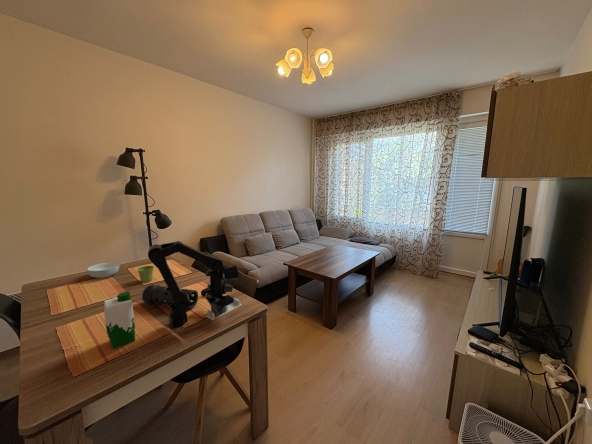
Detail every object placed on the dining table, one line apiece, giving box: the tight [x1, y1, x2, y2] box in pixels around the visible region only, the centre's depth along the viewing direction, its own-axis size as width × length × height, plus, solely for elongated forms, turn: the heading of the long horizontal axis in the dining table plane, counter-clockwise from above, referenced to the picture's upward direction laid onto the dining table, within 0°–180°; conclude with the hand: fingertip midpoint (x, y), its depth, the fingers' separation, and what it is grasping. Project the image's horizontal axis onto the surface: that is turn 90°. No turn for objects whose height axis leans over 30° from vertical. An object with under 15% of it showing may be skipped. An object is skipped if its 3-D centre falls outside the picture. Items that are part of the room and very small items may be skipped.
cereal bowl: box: [86, 261, 120, 279], centre depth 157 cm, size 17×17×7 cm
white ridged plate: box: [205, 297, 243, 321], centre depth 118 cm, size 18×7×3 cm, turn 144°
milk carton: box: [103, 291, 136, 350], centre depth 94 cm, size 9×9×20 cm
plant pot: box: [136, 265, 155, 283], centre depth 151 cm, size 9×9×9 cm
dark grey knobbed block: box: [210, 299, 224, 317], centre depth 114 cm, size 4×4×7 cm
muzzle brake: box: [140, 284, 199, 310], centre depth 121 cm, size 10×28×10 cm, turn 78°
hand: (217, 312), depth 115 cm, fingers closed on dark grey knobbed block, 4 cm apart
